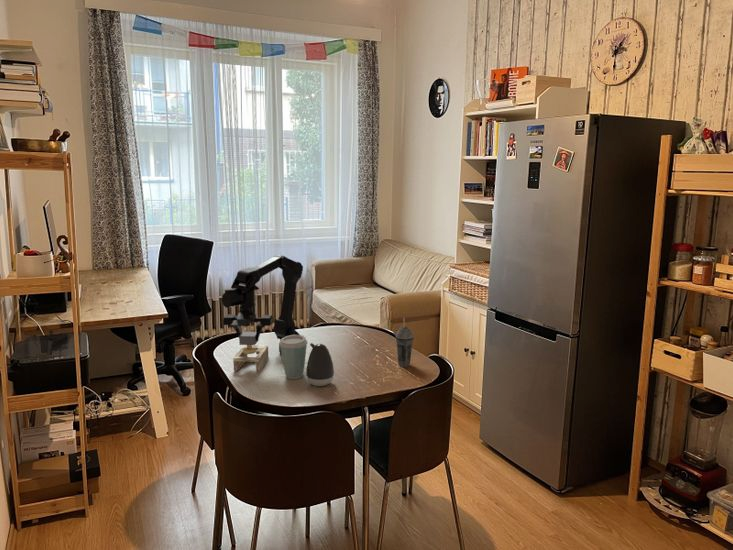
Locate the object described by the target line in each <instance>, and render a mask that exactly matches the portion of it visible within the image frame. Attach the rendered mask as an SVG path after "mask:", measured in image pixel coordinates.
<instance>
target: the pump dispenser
mask: <svg viewBox="0 0 733 550" xmlns="http://www.w3.org/2000/svg"><path fill="white" fill-rule="evenodd" d="M309 346H310V347H311V348H312V349H311V351H310V353H309V356H308V359H307V363H306V370H305V371H306V372H305V373H306V374H305V375H306V376H305V377H307V380H308V382H309V383H310V384H311V385H313V386H315V387H325V386H328V385H329V384H330V383H331V382H332V380H333V379H334V376H335V368H334V363H333V360H332V356H331V353H330V350H329V348H328V347H327V346H326V345H325V344H322V343H317V344H314V343H312V342H311V343H310V345H309Z"/></svg>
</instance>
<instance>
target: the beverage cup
mask: <svg viewBox="0 0 733 550" xmlns="http://www.w3.org/2000/svg"><path fill="white" fill-rule="evenodd" d="M402 320H403V322H402V323H403V326H402V327H401V328H399V329H398V330H397V331H396V334H395V342H396V350H397V362H398V366H399V367H402V368H408V367H410V364H411V359H412V350H413V343H414V333H413V330H412V329H410V328H409V327H406V325H405V323H406V322H405V317H403V319H402Z"/></svg>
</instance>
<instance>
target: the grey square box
mask: <svg viewBox="0 0 733 550" xmlns="http://www.w3.org/2000/svg"><path fill="white" fill-rule="evenodd" d="M238 340H239V345H240V346H241V345H242V346H244V345H247V347H244V348H243V353H244V354H247V355H253V354H256V347H253V346H252V345H257V343H258V342H259V340H260V338H259V339H258V341H257V342H256V331H242V334H241V335H240V336H239V337H238Z"/></svg>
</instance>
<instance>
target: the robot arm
mask: <svg viewBox="0 0 733 550" xmlns="http://www.w3.org/2000/svg"><path fill="white" fill-rule="evenodd" d="M276 269H280V270H281V275H282V278H283V280H284V285H283V293H282V300H281V309H280V316H279V317H278V318H277V319H274V316H273V315H272V314H265V315H264V314H263V315H262V316H261V317H257V313H256V294H255V293H256V291H258V290H259V289H260V288H259V287H258V286H257V285H256V284H258V283H259V282H260V281H261V278H262V277H265V275H268V274H269V273H271V272H273V271H275V270H276ZM303 271H304V266H303V264H302V263H301V262H299V261H295V260H293V259H291V258H288V257H287V256H285V255H282V254H281V255H280V254H275V255H273V257H271V258H269V259H267V260H265V261H263V262H261V263H259V264H258V265H256V266H254V267H246V268H242V269H239V270H238V271H237V273H236V276H235V278H234V280H233V281H232V284H231V288H226V289H225V290H224V293H223V294H222V296H221V303H222V305H223V306H224V308H227V309H229V308H233V307H238V306H239V307H238V308H239V311H238V314H227V315H225V316H224V317H223V318H222V325H223V326H229V327H230V328H233V329H234V330H235V332H236V334H237V337H238V338H239V336H240V335H241V334H242V332H243V331H242V330H243V329H242V327H249V326H251V323H256V324H257V325H256V326H255V328H256V331H255V332H256V342H257V341H258V342H259V340H260V335H261V333H262V330H263V328H265V327H269V326H272V325H273V323H274V325H273V331H274V332H273V333H274V334H275V335H276V338H277V340H279V342H280V341H281V339H282V338H284V337H286V336H289V335H301V334H300V333H299V332H298V331H296V323H295V321H294V318H293V313H294V308H295V298H296V292H297V291H296V290H297V284H298V283H299V281H300V279H301V277H302V275H303ZM258 339H259V340H258ZM258 342H257V343H258ZM278 353H279V356H282V355H281V350H280V346H279V345H278Z"/></svg>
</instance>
